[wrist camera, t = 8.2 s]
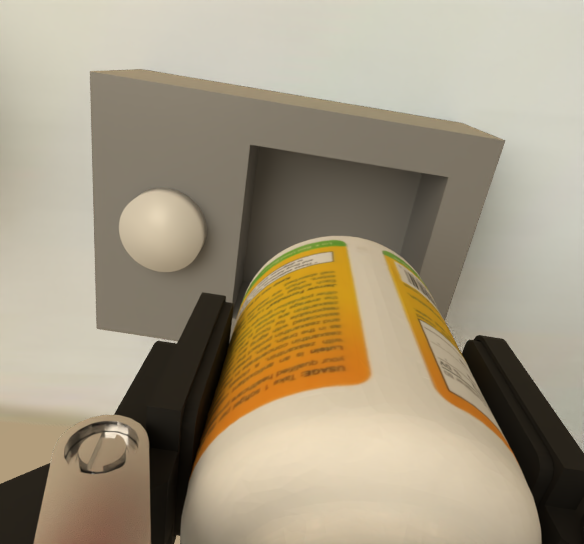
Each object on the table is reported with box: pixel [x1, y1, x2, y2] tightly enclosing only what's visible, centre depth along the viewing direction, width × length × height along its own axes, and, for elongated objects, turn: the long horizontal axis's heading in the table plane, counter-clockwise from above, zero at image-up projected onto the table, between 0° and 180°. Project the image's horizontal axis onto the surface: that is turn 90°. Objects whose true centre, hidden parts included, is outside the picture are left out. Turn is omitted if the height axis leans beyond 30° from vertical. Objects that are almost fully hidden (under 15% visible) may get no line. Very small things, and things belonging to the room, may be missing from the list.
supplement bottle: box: [180, 236, 542, 544], centre depth 9 cm, size 5×5×10 cm
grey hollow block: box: [90, 69, 505, 343], centre depth 19 cm, size 14×10×6 cm
